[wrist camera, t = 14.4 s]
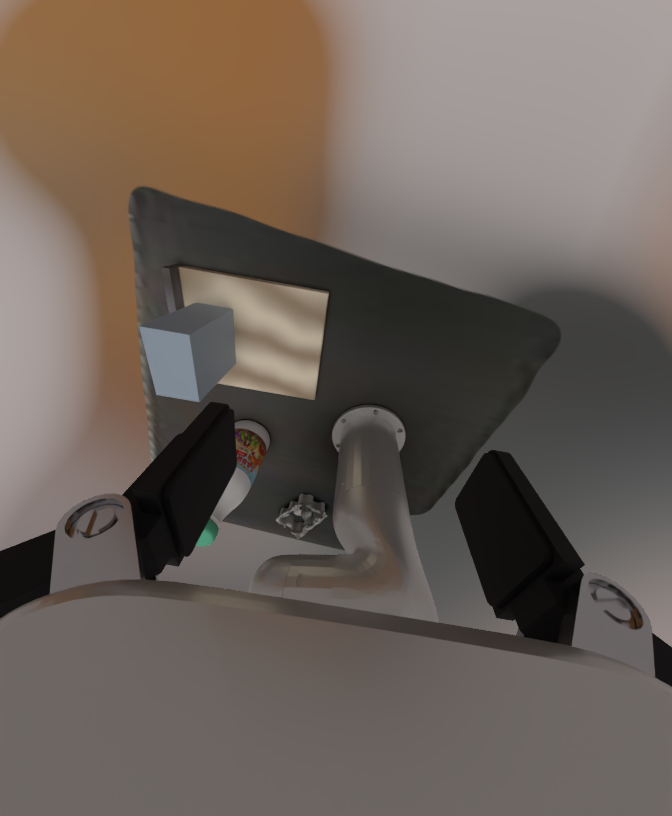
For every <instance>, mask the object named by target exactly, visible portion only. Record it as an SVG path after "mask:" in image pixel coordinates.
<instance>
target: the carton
mask: <svg viewBox="0 0 672 816" xmlns="http://www.w3.org/2000/svg"><path fill="white" fill-rule="evenodd" d="M139 327H140V331H141V335H142V339H143V343H144V347H145V351H146V355H147V359H148V363H149V367H150V371H151V375H152V379H153V383H154V387H155V391H156V395H161V396H167V397H173V398H179V399H185V400H191V401H197V402H200V401H201V400H202V399H203V398H204V397H205V396H206V395H207V393H208V392H209V391H210V390H211V389H212V388H213V387H214V386H215V385H216V384H217V383H218V382H219V381H220V380H221V379H222V378H223V377H224V376H225V375H226V374H227V373H228V372H229V371H230V369H231V368H232V367H233V366H234V365H235V364H236V352H235V335H234V318H233V309H231V308H225V307H219V306H213V305H208V304H202V303H193V304H191V305H189V306H186V307H184V308H181V309H179V310H177V311H174V312H172V313H170V314H167V315H165V316H163V317H160V318H158V319H155V320H153V321H151V322H148V323H146V324H144V325H141V326H139Z"/></svg>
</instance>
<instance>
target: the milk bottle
mask: <svg viewBox="0 0 672 816" xmlns="http://www.w3.org/2000/svg"><path fill="white" fill-rule="evenodd" d="M235 437H236V452H237V466H236V470H235V472H234V474H233V476H232V478H231V480H230V481H229V483H228V485H227V487H226V489H225V491H224V493H223V495H222V497H221V498H220V500H219V502H218V504H217V506H216V508H215V510H214V512H213V513H212V515H211V517H210V519H209V521H208V523H207V525H206V527H205V529H204V530H203V532H202V534H201V536H200V538H199V540H198V542H197V544H196V545H195V546H208V545H210V544H212V543H213V541H214V540H215V538H216V536H217V534H218V530H219V529H220V527H221V525H220V523H221V522H222V520H223V519H224V518H225V517H226V516H227V515H228V514H229V513H230V512H231V511H232V510H233V509H235V508H236V507H237V506H238V505H239V504H240V503H241V502H242V501H243V499H244V498H245V497H246V495H247V493H248V492H249V490H250V488H251V486H252V484H253V481H254V479H255V477H256V475H257V472H258V470H259V468H260V466H261V463H262V461H263V459H264V456H265V454H266V452H267V450H268V447H269V444H270V437H269V434H268V432H267V430H266V429H265V428H264V427H263V426H261V425H260V424H258V423H256V422H254V421H250V420H241V421H238V422H236V423H235Z"/></svg>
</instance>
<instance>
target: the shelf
mask: <svg viewBox="0 0 672 816" xmlns="http://www.w3.org/2000/svg"><path fill="white" fill-rule="evenodd" d="M161 271H162V277H163V282H164V288H165V293H166V299H167V304H168V310H169V314H170V313H172V312H174V311H177V310H179V309H181V308H184V307H186V306H189V305H191V304H193V303H202V304H208V305H213V306H219V307H225V308H231V309H233V318H234V335H235V352H236V364H235V365H234V366H233V367H232V368H231V369H230V371H229V372H228V373H227V374H226V375H225V376H224V377H223V378H222V379H221V380H220V381H219V382H218V383H219V384H224V385H230V386H236V387H242V388H248V389H253V390H259V391H265V392H271V393H276V394H282V395H288V396H294V397H299V398H305V399H311V400H315V396H316V390H317V382H318V375H319V367H320V359H321V352H322V344H323V336H324V329H325V321H326V313H327V306H328V298H329V292H328V291H323V290H317V289H312V288H306V287H301V286H295V285H290V284H284V283H279V282H273V281H267V280H262V279H256V278H251V277H245V276H240V275H234V274H229V273H223V272H217V271H212V270H206V269H201V268H195V267H190V266H184V265H179V264H176V265H171V266H165V267H161Z"/></svg>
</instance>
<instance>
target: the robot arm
mask: <svg viewBox="0 0 672 816" xmlns="http://www.w3.org/2000/svg"><path fill="white" fill-rule="evenodd" d="M332 441H333V444H334V446H335V448H336V450H337V451H338V452H339V458H338V468H337V478H336V487H335V497H334V506H333V526H334V529H335V533H336V535H337V537H338V539H339V541H340V543H341V544H342V546H343V547H344V549H345V550H346V552H347V553H348V554H344V555H343V554H342V555H339V554H338V555H301V554H299V555H280V556H276V557H272V558H270V559H268V560H267V561H265V562H264V563H263V564H262V565H261V566H260V567H259V568H258V570H257V571H256V573H255V575H254V577H253V579H252V581H251V585H250V588H249V591H248V592H243V591H236V590H230V589H222V588H215V587H208V586H200V585H193V584H186V583H178V582H169V581H168V582H167V581H159V578H158V574H160V573H161V572H162V570H163V569H164V567H165V565H173V566H179V565H180V563H181V561H182V559H183V557H184V556H186V557H188V556H189V555H190V554H191V553H192V551H193V549H194V547H195V545H196V544H197V542H198V540H199V538H200V536H201V534H202V532H203V530H204V529H205V527H206V525H207V523H208V521H209V519H210V517H211V515H212V513H213V512H214V510H215V508H216V506H217V504H218V502H219V500H220V498H221V497H222V495H223V493H224V491H225V489H226V487H227V485H228V483H229V481H230V480H231V478H232V476H233V474H234V472H235V470H236V466H237V452H236V437H235V422H234V411H233V409H229V405H227V404H223V403H217V402H210V403H209V404H208V405H207V406H206V407H205V409H204V410H203V411H202V412H201V413H200V414H199V415H198V416H197V418H196V419H195V420H194V421H193V422H192V423H191V424H190V425H189V426H188V428H187V429H186V430H185V431H184V432H183V433H181V434H178V435H177V436H176V437H175V438H174V439H173V440H172V441H171V442H170V443H169V444H168V445H167V447H166V448H165V449H164V450H163V451H162V452H161V453H160V454H159V455H158V456H157V457H156V459H155V460H154V461H153V462H152V463H151V464H150V465H149V466H148V467H147V468H146V470H145V471H144V472H143V473H142V474H141V475H140V476H139V477H138V478H137V480H136V481H135V482H134V483H133V484H132V485H131V486H130V487H129V488H128V489H127V490H126V491H125V493H124V494H123V495H118V494H103V495H98V496H94V497H92V498H89V499H87V500H84V501H82V502H81V503H79V504H77V505H76V506H74V507H73V508H71V509H70V510H69V511H68V512H67V513H66V514H64V516H63V517H62V519H61V520H60V521H59V522H58V525H57V528H56V530H54V531H51V532H49V533H46V534H43V535H41V536H39V537H36V538H33V539H30V540H28V541H25V542H23V543H20V544H18V545H16V546H12V547H10V548H7V549H5V550H2V551H0V816H672V647H671V646H669V645H668V644H666V643H665V642H664V641H662V640H661V639H660V638H658V637H657V636H656V635H654V634H653V633H652V627H651V624H650V620H649V618H648V616H647V614H646V613H645V611H644V609H643V608H642V607H641V606H640V604H639V603H638V602H637V601H636V599H635V598H634V597H633V596H631V595H630V594H629V593H628V592H627V591H626V590H625V589H624V588H622V587H621V586H620V585H618V584H617V583H616V582H614V581H612V580H611V579H609V578H607V577H605V576H602V575H599V574H596V573H588V574H585V575H584V574H583V572H582V571H581V569H580V568H581V567H583V566H584V565H585V564H584V563H583V561H582V560H581V558H580V557H579V556H578V554H577V552H576V551H575V549H574V548H573V546H572V545H571V544H570V542H569V541H568V539H567V538H566V536H565V534H564V533H563V531H562V530H561V529H560V527H559V526H558V524H557V522H556V521H555V520H554V518H553V517H552V515H551V514H550V512H549V511H548V509H547V508H546V506H545V505H544V503H543V502H542V500H541V499H540V497H539V496H538V494H537V493H536V491H535V490H534V488H533V487H532V485H531V484H530V482H529V481H528V479H527V478H526V476H525V475H524V473H523V472H522V470H521V469H520V467H519V466H518V464H517V463H516V461H515V460H514V458H513V457H512V455H511V454H510V453H507V452H501V451H496V450H491V451H489V452H488V453H485V454H484V455H483V456H482V458H481V459H480V461H479V463H478V464H477V466H476V467H475V469H474V471H473V472H472V474H471V476H470V477H469V479H468V480H467V482H466V484H465V485H464V487H463V489H462V490H461V492H460V494H459V495H458V497H457V498H456V502H455V508H456V511H457V514H458V517H459V520H460V523H461V526H462V529H463V532H464V535H465V538H466V540H467V543H468V547H469V549H470V553H471V556H472V558H473V561H474V564H475V567H476V570H477V573H478V576H479V579H480V582H481V585H482V588H483V591H484V594H485V597H486V599H487V602H488V603H489V604H490V605H491V606H492V607H493V609H494V612H495V615H496V618H500V619H506V620H512V621H513V620H516V622H517V625H518V627H519V628H518V631H517V635H516V636H515V635H509V634H503V633H497V632H491V631H485V630H479V629H473V628H467V627H461V626H455V625H449V624H443V623H439V621H438V615H437V612H436V608H435V604H434V601H433V598H432V595H431V592H430V589H429V586H428V583H427V580H426V577H425V574H424V571H423V568H422V565H421V562H420V559H419V555H418V552H417V548H416V544H415V539H414V535H413V530H412V525H411V520H410V514H409V508H408V502H407V496H406V490H405V484H404V478H403V472H402V467H401V461H400V455H399V452H400V450H401V449H402V447H403V445H404V442H405V429H404V425H403V423H402V421H401V420H400V418H399V417H398V416H397V415H396V414H395V413H394V412H392V411H391V410H389V409H387V408H384V407H382V406H377V405H360V406H356V407H353V408H351V409H349V410H347V411H345V412H344V413H342V414H341V415H340V416H339V417H338V418H337V420H336V422H335V423H334V426H333V430H332Z"/></svg>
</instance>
